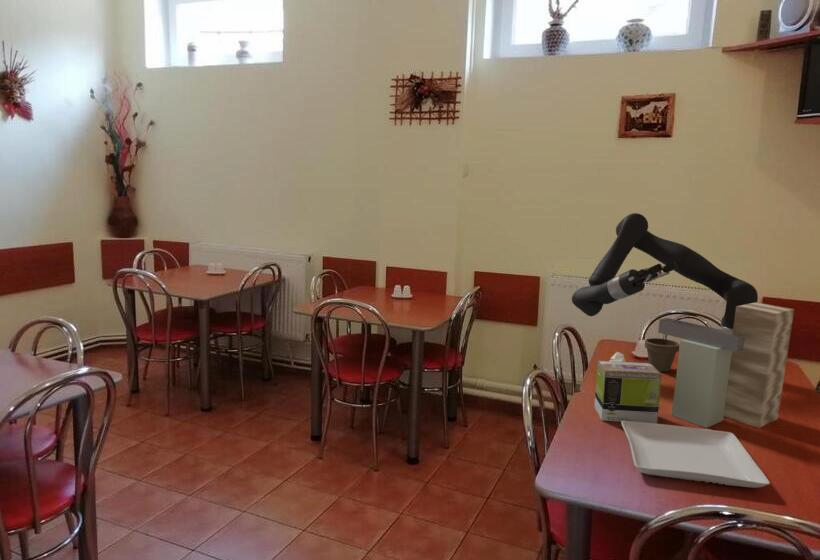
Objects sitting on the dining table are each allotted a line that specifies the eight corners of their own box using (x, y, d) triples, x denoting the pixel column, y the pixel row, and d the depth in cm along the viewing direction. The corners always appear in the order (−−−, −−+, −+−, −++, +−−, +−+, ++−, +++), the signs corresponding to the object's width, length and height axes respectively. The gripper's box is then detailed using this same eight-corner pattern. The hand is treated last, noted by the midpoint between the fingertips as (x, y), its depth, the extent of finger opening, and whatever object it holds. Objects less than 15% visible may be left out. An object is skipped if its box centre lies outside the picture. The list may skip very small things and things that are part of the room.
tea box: (646, 411, 169) (651, 362, 167) (657, 425, 160) (663, 373, 157) (593, 407, 171) (597, 358, 168) (600, 421, 161) (605, 369, 158)
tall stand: (741, 407, 175) (755, 302, 170) (777, 418, 167) (794, 309, 162) (721, 415, 168) (736, 306, 163) (758, 428, 160) (775, 313, 155)
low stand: (688, 408, 172) (697, 336, 169) (722, 420, 165) (732, 344, 161) (671, 415, 167) (680, 340, 163) (706, 427, 159) (716, 349, 155)
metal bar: (665, 331, 174) (667, 317, 173) (743, 349, 156) (745, 335, 156) (658, 332, 171) (659, 319, 171) (736, 351, 154) (738, 337, 153)
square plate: (731, 444, 150) (732, 430, 149) (769, 500, 124) (772, 483, 123) (619, 431, 156) (620, 417, 155) (634, 481, 130) (635, 464, 129)
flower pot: (639, 362, 216) (642, 336, 215) (672, 365, 214) (675, 338, 213) (645, 372, 205) (648, 344, 204) (680, 375, 203) (683, 347, 201)
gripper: (608, 275, 188) (651, 255, 175) (633, 272, 196) (676, 253, 184) (617, 297, 186) (661, 278, 173) (642, 293, 194) (686, 275, 182)
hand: (669, 265), depth 179 cm, fingers open, 8 cm apart
